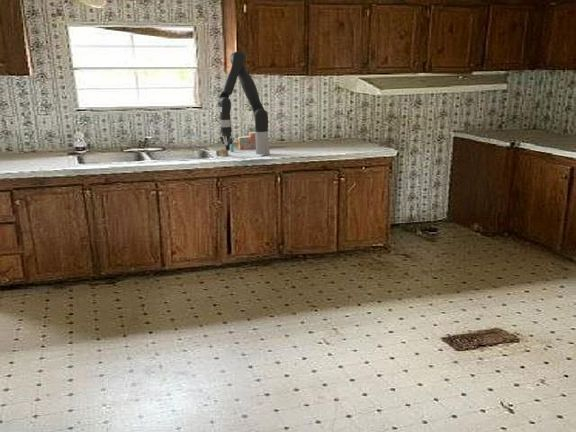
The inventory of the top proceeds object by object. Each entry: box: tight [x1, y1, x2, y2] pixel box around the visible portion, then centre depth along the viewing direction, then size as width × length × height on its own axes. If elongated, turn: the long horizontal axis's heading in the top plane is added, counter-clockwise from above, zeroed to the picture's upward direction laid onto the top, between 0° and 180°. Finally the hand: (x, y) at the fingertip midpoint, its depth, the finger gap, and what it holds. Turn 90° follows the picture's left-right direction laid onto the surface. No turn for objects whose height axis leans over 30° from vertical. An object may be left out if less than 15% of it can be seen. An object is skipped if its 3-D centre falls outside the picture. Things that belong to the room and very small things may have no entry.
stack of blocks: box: [237, 131, 256, 150], centre depth 433 cm, size 21×6×12 cm, turn 104°
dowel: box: [229, 141, 235, 153], centre depth 412 cm, size 2×2×9 cm
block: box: [217, 148, 229, 157], centre depth 399 cm, size 5×5×4 cm
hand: (227, 150), depth 395 cm, fingers closed
